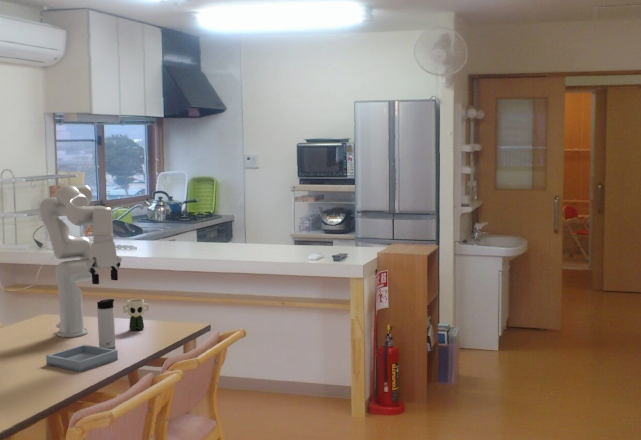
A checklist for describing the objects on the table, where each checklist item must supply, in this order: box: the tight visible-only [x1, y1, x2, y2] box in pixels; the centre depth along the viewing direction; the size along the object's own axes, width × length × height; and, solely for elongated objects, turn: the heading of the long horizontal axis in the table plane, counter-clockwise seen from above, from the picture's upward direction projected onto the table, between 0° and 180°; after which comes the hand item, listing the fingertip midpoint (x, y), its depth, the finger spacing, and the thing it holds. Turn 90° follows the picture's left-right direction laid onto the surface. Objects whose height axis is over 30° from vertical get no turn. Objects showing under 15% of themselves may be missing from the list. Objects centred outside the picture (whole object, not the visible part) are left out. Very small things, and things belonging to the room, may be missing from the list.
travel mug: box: [96, 298, 116, 350], centre depth 305 cm, size 6×7×20 cm
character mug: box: [122, 298, 150, 331], centre depth 336 cm, size 11×7×13 cm, turn 106°
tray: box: [45, 343, 119, 373], centre depth 287 cm, size 18×18×4 cm
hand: (105, 282), depth 303 cm, fingers open, 9 cm apart
